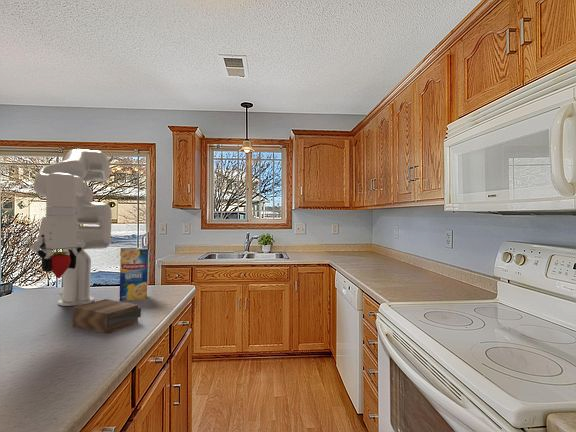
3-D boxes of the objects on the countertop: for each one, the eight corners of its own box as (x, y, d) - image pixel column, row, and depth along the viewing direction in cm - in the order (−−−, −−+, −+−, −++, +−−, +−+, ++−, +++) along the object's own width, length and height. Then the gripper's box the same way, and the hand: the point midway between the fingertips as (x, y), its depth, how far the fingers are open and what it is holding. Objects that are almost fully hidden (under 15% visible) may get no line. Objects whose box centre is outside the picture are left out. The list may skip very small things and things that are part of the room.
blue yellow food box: (147, 298, 144) (148, 248, 144) (119, 301, 139) (120, 249, 139) (146, 295, 150) (147, 247, 150) (119, 297, 145) (120, 248, 145)
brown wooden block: (72, 325, 107) (73, 307, 107) (105, 315, 118) (105, 299, 118) (109, 333, 101) (109, 314, 101) (140, 322, 112) (141, 305, 112)
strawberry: (72, 275, 107) (72, 244, 107) (68, 279, 100) (69, 247, 100) (50, 276, 104) (51, 245, 104) (44, 281, 97) (45, 247, 97)
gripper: (80, 213, 111) (79, 265, 111) (22, 212, 96) (20, 272, 96) (95, 213, 108) (93, 267, 108) (37, 212, 92) (35, 275, 93)
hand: (59, 269), depth 102 cm, fingers closed on strawberry, 6 cm apart
